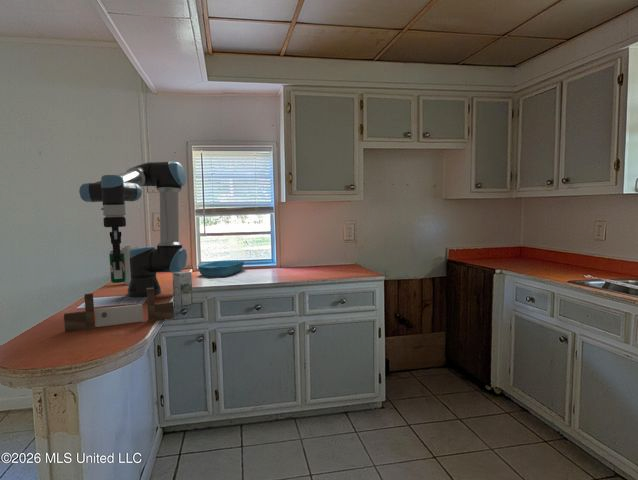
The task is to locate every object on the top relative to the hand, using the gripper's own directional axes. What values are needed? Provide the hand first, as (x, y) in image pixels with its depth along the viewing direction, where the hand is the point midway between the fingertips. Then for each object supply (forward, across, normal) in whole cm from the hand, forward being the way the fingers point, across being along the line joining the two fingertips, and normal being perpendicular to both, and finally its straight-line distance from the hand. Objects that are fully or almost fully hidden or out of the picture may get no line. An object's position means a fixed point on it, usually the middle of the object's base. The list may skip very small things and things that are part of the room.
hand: (118, 277), depth 154 cm
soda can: (+2, 0, 0) cm, 2 cm away
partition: (+15, +11, 0) cm, 19 cm away
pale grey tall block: (+16, -79, +5) cm, 80 cm away
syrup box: (+16, -8, +24) cm, 30 cm away
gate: (+15, +12, 0) cm, 19 cm away
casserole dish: (+17, -88, +59) cm, 108 cm away
